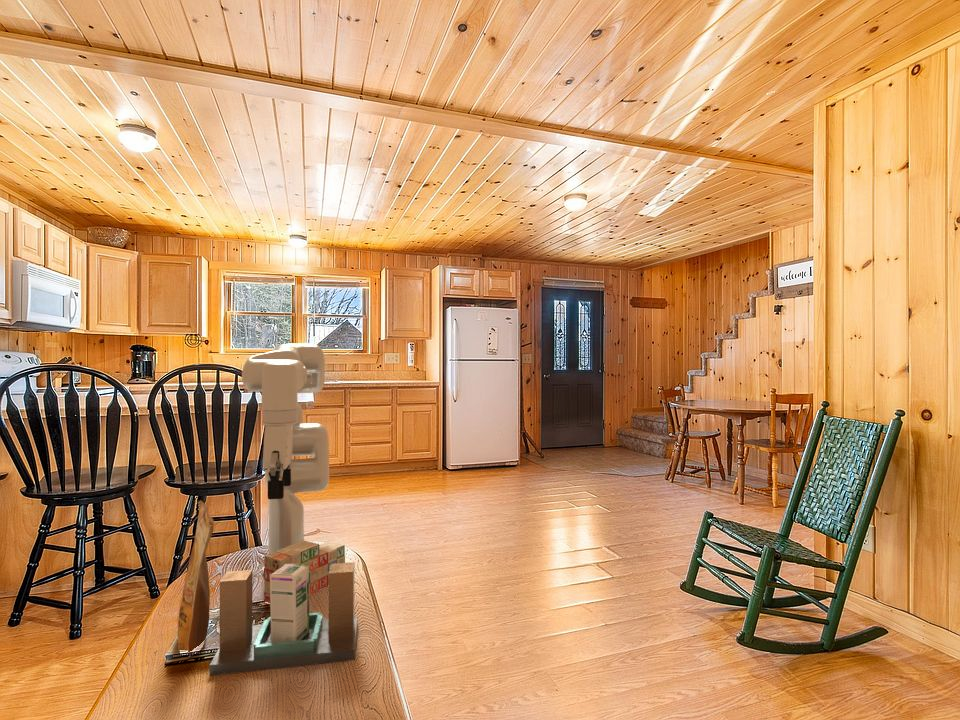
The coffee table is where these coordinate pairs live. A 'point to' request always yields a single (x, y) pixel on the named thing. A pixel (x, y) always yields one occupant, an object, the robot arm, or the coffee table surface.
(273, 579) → the syrup box
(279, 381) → the robot arm
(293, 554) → the stack of blocks
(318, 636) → the grey and tan stand
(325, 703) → the coffee table surface
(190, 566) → the pancake mix bag
